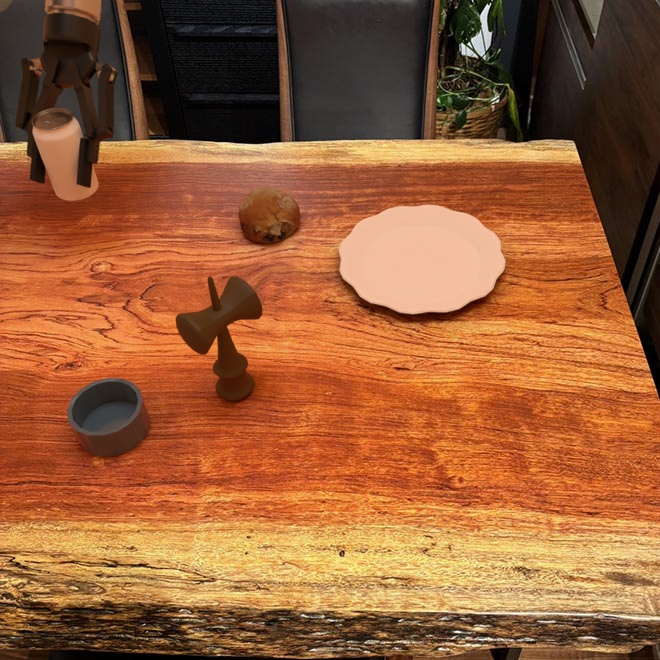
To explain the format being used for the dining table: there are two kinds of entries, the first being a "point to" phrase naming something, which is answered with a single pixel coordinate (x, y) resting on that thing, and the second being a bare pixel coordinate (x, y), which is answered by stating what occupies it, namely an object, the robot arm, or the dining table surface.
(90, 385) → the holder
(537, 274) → the dining table surface
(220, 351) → the kendama
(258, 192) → the bread roll
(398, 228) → the plate
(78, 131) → the can
